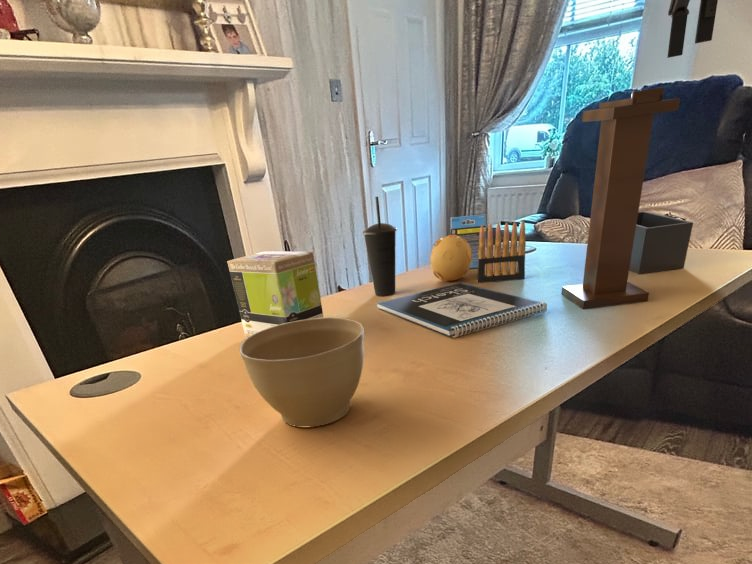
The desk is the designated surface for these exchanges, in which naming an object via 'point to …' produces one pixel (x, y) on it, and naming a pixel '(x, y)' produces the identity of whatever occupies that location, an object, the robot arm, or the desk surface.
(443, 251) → the stress ball
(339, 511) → the desk surface
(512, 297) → the sketchbook
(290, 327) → the planter bowl
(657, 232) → the pen holder
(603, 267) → the headphone stand
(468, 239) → the label tape box
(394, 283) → the drinking cup
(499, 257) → the ammunition clip
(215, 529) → the desk surface
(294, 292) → the tea box
